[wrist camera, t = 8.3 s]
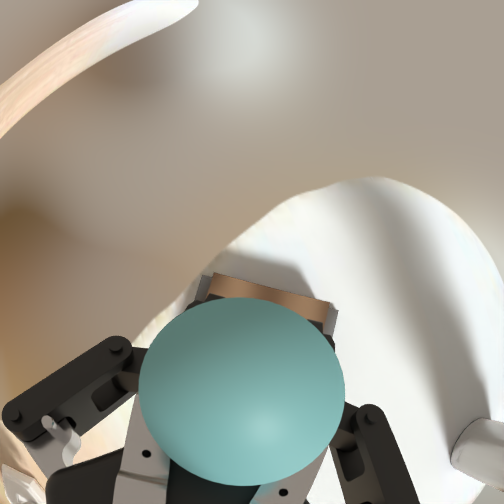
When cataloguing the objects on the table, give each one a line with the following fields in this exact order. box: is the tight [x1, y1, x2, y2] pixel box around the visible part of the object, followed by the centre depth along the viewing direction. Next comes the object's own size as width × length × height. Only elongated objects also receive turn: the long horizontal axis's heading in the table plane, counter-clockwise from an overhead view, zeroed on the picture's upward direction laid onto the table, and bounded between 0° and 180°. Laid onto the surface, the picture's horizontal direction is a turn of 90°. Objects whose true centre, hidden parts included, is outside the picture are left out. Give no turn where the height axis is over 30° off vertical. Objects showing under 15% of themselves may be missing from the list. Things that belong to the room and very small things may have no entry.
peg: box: [138, 297, 345, 486], centre depth 11 cm, size 4×4×14 cm
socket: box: [194, 272, 339, 337], centre depth 27 cm, size 16×12×4 cm
